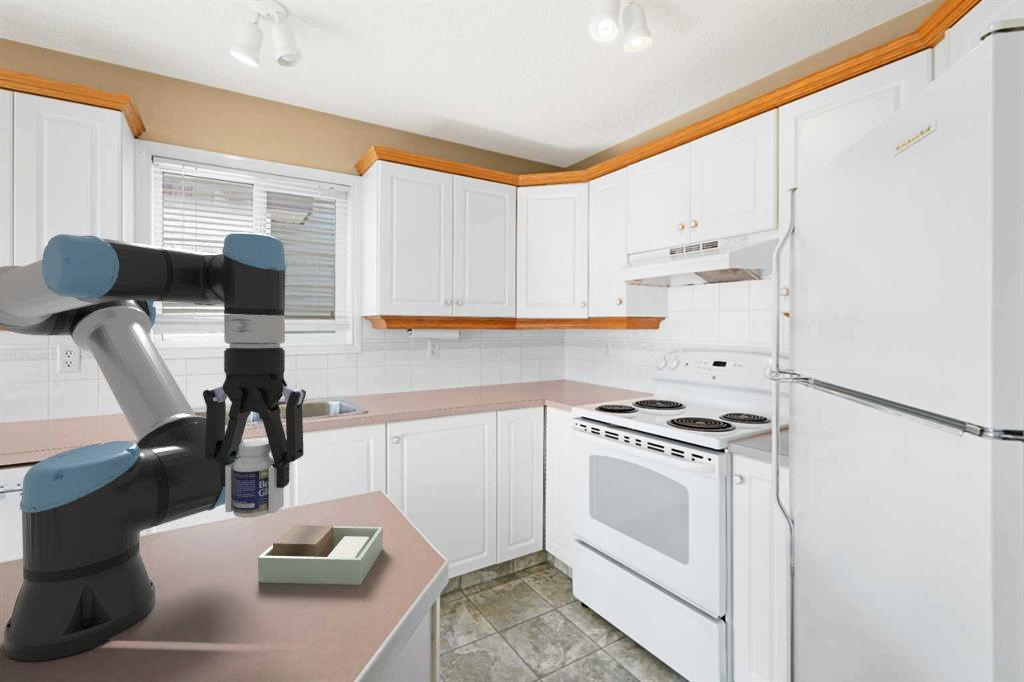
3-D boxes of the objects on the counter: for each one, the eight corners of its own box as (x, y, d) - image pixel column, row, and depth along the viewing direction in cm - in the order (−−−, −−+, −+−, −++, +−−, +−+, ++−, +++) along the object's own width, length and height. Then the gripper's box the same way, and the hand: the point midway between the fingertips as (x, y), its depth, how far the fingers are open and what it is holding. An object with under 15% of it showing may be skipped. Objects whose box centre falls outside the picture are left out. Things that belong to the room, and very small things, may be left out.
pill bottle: (263, 519, 65) (263, 448, 64) (224, 518, 65) (224, 447, 64) (283, 504, 70) (283, 438, 70) (247, 503, 70) (247, 438, 70)
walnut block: (272, 573, 76) (272, 543, 76) (293, 553, 83) (293, 525, 83) (316, 575, 76) (316, 544, 76) (333, 554, 83) (333, 526, 83)
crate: (258, 585, 74) (258, 557, 74) (294, 549, 86) (294, 525, 86) (360, 588, 74) (360, 559, 73) (382, 551, 86) (382, 527, 85)
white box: (325, 576, 76) (325, 558, 76) (344, 553, 84) (344, 536, 84) (353, 577, 76) (353, 559, 76) (369, 553, 84) (369, 536, 84)
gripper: (171, 345, 63) (171, 518, 64) (308, 348, 63) (307, 521, 64) (208, 343, 71) (208, 497, 71) (330, 346, 70) (329, 500, 71)
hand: (255, 508), depth 67 cm, fingers closed on pill bottle, 5 cm apart
